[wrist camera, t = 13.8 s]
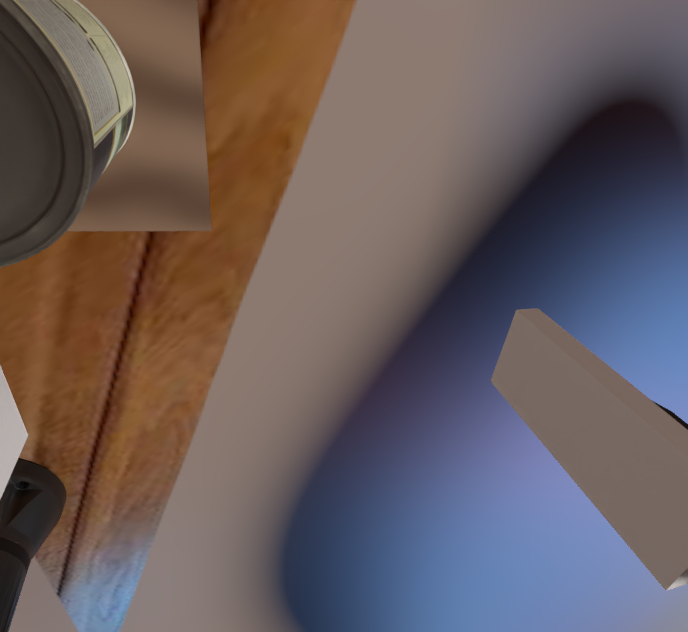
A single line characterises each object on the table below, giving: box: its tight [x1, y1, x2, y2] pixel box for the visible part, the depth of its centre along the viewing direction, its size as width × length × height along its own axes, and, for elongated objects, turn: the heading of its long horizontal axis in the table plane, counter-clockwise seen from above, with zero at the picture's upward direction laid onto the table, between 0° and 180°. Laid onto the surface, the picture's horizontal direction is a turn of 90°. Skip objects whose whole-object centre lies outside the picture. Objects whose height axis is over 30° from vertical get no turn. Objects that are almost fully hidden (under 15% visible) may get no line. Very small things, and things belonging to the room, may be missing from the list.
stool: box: [67, 0, 211, 231], centre depth 29 cm, size 18×18×12 cm
